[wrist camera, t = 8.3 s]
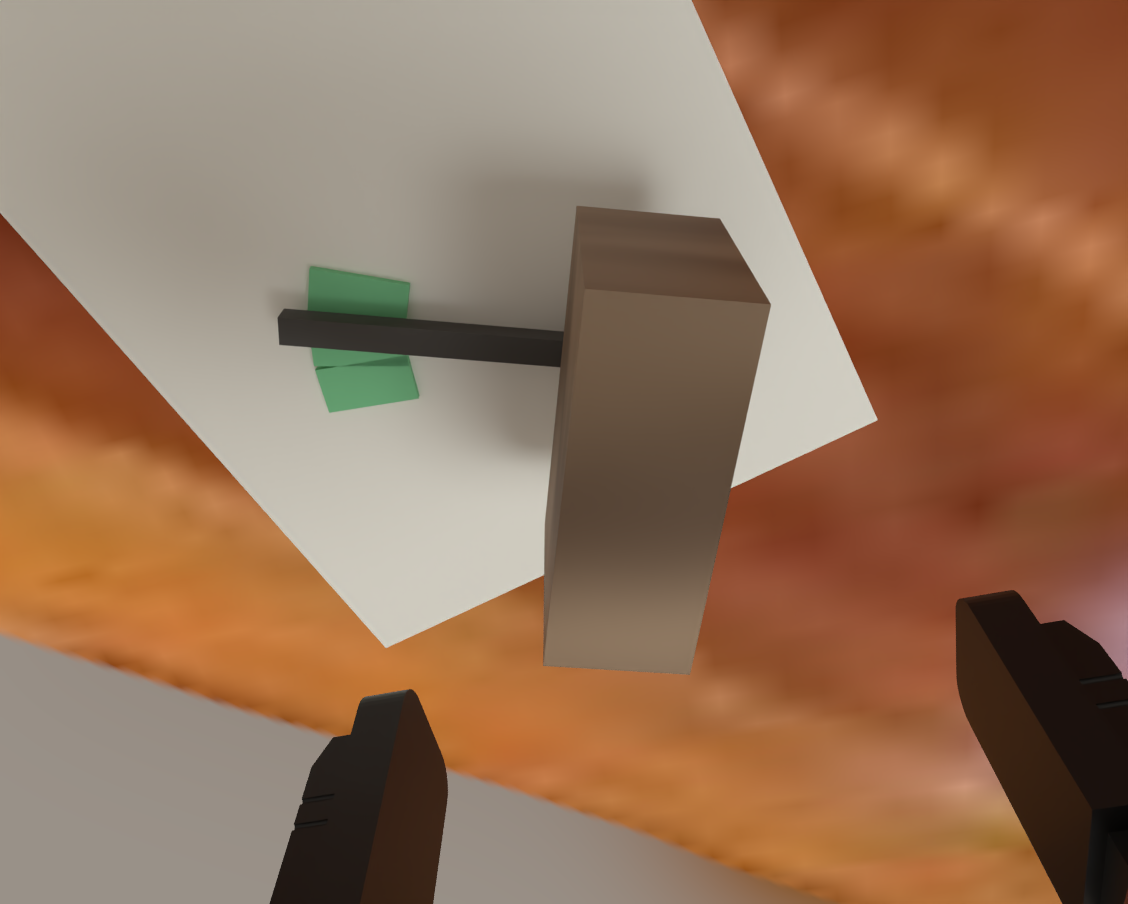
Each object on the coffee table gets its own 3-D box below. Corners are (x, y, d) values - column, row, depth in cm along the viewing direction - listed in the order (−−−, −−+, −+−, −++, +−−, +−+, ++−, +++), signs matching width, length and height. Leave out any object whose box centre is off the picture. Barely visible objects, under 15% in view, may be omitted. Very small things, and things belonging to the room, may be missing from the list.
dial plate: (390, -659, 15) (373, -721, 14) (861, 394, 25) (879, 423, 24) (-233, -112, 19) (-299, -116, 18) (393, 616, 29) (385, 652, 28)
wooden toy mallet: (277, 151, 20) (151, 252, 14) (702, 189, 21) (771, 304, 14) (296, 456, 24) (205, 645, 18) (653, 482, 25) (689, 674, 18)
